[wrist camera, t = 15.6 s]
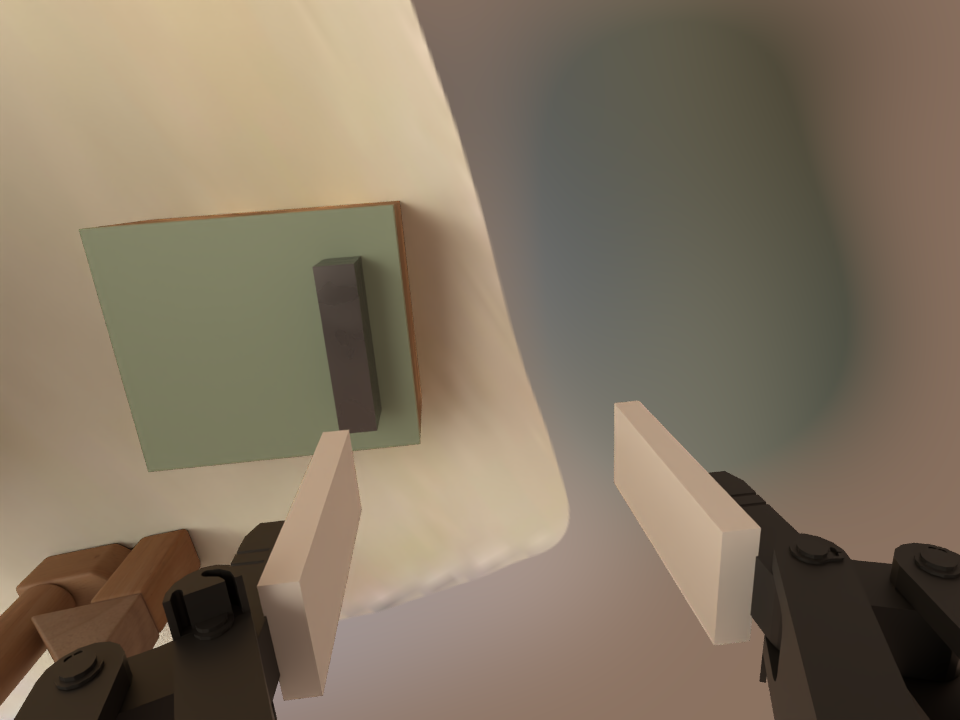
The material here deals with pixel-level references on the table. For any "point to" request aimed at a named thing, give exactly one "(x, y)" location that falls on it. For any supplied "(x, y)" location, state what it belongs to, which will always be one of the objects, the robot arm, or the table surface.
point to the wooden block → (92, 602)
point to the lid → (258, 333)
